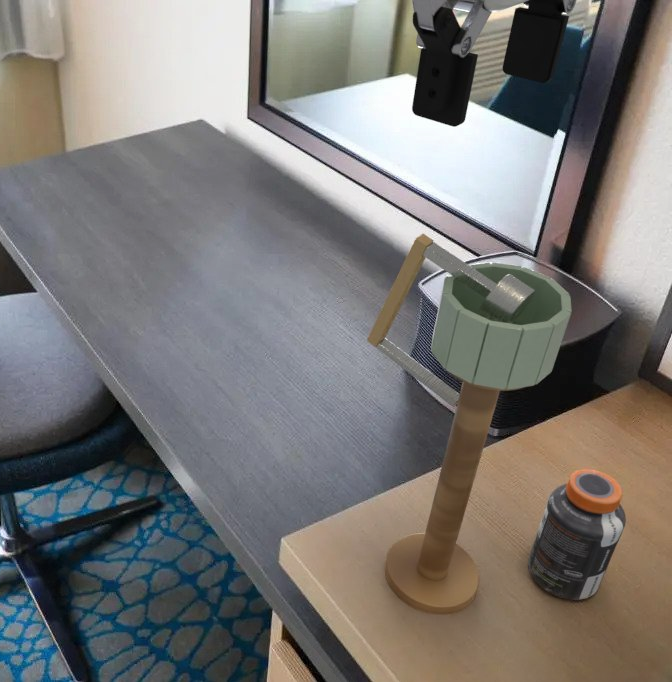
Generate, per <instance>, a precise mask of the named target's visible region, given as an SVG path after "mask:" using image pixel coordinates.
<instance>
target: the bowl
mask: <svg viewBox="0 0 672 682" xmlns="http://www.w3.org/2000/svg"><path fill="white" fill-rule="evenodd" d="M468 265H469V266H471V267H472V268H474V269H475V270H477V271H478V272H480V273H481V274H483V275H484V276H486V277H487V278H489V279H490V280H492V281H493V282H495V283H496V284H498V283H499V282H500V281H501V280H502V279H503V278H504V277H505V276H507V275H508V274H511V275H512V276H514V277H515V278H517V279H518V280H520V281H522V282H523V283H525V284H526V285H528V286H529V287H531V288H532V289H534V290H535V291H536V293H535V295H534V297H533V299H532V300H531V302H530V303H529V304H528V306H527V307H526V308H525V310H524V311H523V312H522V313H521V314H520V316H519V317H518V318H517V319H516V320H515V321H514V322H513V323H512V324H510V323H504V322H497V321H491V320H490V319H488V318H487V317H485V316H484V315H482V314H481V313H480V312H479V310H480V307H481V305H482V303H483V302H484V300H485V299H486V298H485V297H483V296H482V295H480V294H479V293H477V292H476V291H474V290H473V289H471V288H470V287H468V286H467V285H466V284H464V283H463V282H461V281H460V280H458V279H457V278H455V277H454V276H452V275H451V274H449V273H448V274H447V275H446V276H445V277H444V279H443V283H442V289H441V295H440V299H439V303H438V308H437V313H436V319H435V322H434V327H433V332H432V339H431V346H430V351H431V353H432V355H433V356H434V358H435V359H436V360H437V361H438V362H439V364H440V365H441V367H443V369H444V370H445V371H447V372H448V373H449V372H450V373H452V374H454V375H456V376H458V377H460V378H461V379H463V380H465V381H467V382H469V383H474V384H475V385H480V386H486V387H491V388H497V389H503V390H505V389H507V390H509V389H516V388H521V389H523V388H522V387H524V388H527V387H533V386H535V385H538V384H539V383H540V382H541V381H542V380H544V379H545V378H546V377H547V376H548V375H550V374H551V373H552V371H553V369H554V366H555V363H556V361H557V357H558V354H559V351H560V348H561V345H562V342H563V339H564V336H565V333H566V331H567V327H568V324H569V322H570V318H571V315H572V312H573V311H572V310H573V309H572V301H571V295H570V293H569V292H568V291H567V290H566V289H565V288H563V287H562V286H561V285H560V284H559V283H558V282H557V281H556V280H555V279H554V278H551V277H550V276H548V275H546V274H543V273H540V272H538V271H536V270H533V269H531V268H528V267H526V266H523V267H522V265H518V264H509V263H502V262H493V261H491V262H490V261H487V262H481V263H474V264H473V263H472V264H468ZM450 373H449V374H450ZM452 374H451V375H452ZM516 390H517V389H516ZM509 391H510V390H509Z"/></svg>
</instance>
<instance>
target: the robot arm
mask: <svg viewBox="0 0 672 682" xmlns="http://www.w3.org/2000/svg"><path fill="white" fill-rule="evenodd" d="M577 1H578V0H411V2H412V8H413V14H412V24H413V27H414V29H415V31H416V32H417V36H416V46H417V47H418V48H420V52H419V53H420V55H419V60H418V68H417V73H416V79H415V85H414V92H413V98H412V105H411V111H412V113H413V114H414V115H415V116H417V117H420V118H423V119H426V120H430V121H432V122H433V121H434V122H437V123H440V124H443V125H447V126H450V127H458V126H460V125H462V124H463V123H465V121H466V119H467V118H466V117H467V113H468V107H469V102H470V97H471V92H472V86H473V82H474V77H475V72H476V67H477V62H478V57H479V54H477V53H474V52H471V51H472V49H473V47H474V46H475V43H476V42H477V40H478V38H479V36H480V35H481V33H482V31H483V29H484V28H485V25H486V23H487V22H488V20H489V18H490V17H491V15H492V13H493V12H494V13H496V12H500V11H503V10H507V9H510V8H512V7H515V6H517V5H521V4H523V6H524V7H522V6H519V7H515V8H514V13H513V17H512V22H511V26H510V32H509V36H508V40H507V43H506V44H507V46H506V50H505V53H504V58H503V63H502V67H501V68H502V72H503V73H504V74H505V75H508V76H513V77H516V78H520V79H524V80H529V81H533V82H537V83H541V84H545V83H548V82H549V81H552V80H553V79H554V77H555V73H556V68H557V65H558V62H559V57H560V55H561V54H560V53H561V49H562V47H563V42H564V38H565V34H566V31H567V27H568V23H569V19H570V14H571V13H572V11H573V10H574V8H575V7H576V5H577ZM453 10H458V11H462V12H468V14H467V16H466V17H465V19H464V21H463V23H462V25H461V26H460V24H459V20H458V19H457V17H456V15H455V12H454V11H453Z"/></svg>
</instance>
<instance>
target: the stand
mask: <svg viewBox="0 0 672 682" xmlns="http://www.w3.org/2000/svg"><path fill="white" fill-rule="evenodd" d="M448 373H449V375H452V376H453V377H454V378H456V379H458V380H459V381H461V382H462V384H461V387H460V392H459V394H460V395H459V399H458V403H457V404H456V407H455V411H454V415H453V419H452V424H451V427H450V430H449V431H450V432H449V436H448V439H447V444H446V448H445V450H444V451H445V452H444V456H443V460H442V463H441V467H440V471H439V475H438V476H439V477H438V480H437V484H436V488H435V491H434V496H433V500H432V505H431V509H430V512H429V516H428V520H427V524H426V528H425V532H424V533H423V532H421V533H420V532H419V533H412V534H408V535H405V536H403V537H401V538H399V539H398V540H396V541H395V542H394V543H393V544H392V545H391V547H390V548H389V549H388V552H387V555H386V560H385V564H384V573H385V578H386V581H387V583H388V585H389V587H390V589H391V591H392V592H393V593H394V594H395V595H396V596H397V598H399V599H400V600H401V601H402V602H403V603H405V604H407V605H408V606H410V607H411V608H413V609H415V610H418V611H420V612H423V613H425V614H431V615H451V614H456V613H458V612H460V611H461V612H462V611H463V610H464V609H466V608H468V606H470V605H471V603H472V602H473V600H474V599H475V597H476V594H477V591H478V588H479V584H480V575H479V570H478V567H477V565H476V563H475V561H474V559H473V558H472V556H471V555H470V554H469V553H468V551H466V550H465V549H464V548H463V547H462V546H460V545H459V544H457V542H458V541H457V540H458V538H459V534H460V531H461V527H462V523H463V520H464V517H465V514H466V509H467V507H468V503H469V499H470V496H471V492H472V489H473V486H474V482H475V479H476V477H477V472H478V468H479V464H480V461H481V458H482V455H483V452H484V448H485V444H486V441H487V437H488V433H489V430H490V426H491V423H492V421H493V417H494V413H495V410H496V406H497V403H498V400H499V396H500V392H505V391H506V392H507V391H508V392H509V391H516V390H521V389H524V388H525V387H522V388H516V389H509V390H507V389H505V390H503V389H497V388H491V387H486V386H480V385H475V384H474V383H469V382H467V381H465V380H463V379H461V378H460V377H458V376H456V375H454V374H452V373H450V372H448Z"/></svg>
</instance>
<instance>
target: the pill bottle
mask: <svg viewBox="0 0 672 682" xmlns="http://www.w3.org/2000/svg"><path fill="white" fill-rule="evenodd" d="M623 493H624V492H623V489H622V486H621V485H620V484H619V482H618V481H617V480H616V479H614V478H613V477H612V476H610V475H609V474H606V473H604V472H602V471H599V470H596V469H588V468H587V469H584V468H583V469H578V470H575V471H574V472H573V473H572V474H571V475H570V476H569V479H568V482H567V483H564V484H561V485H559V486H557V487H556V488H555V489H554V490H553V491H551V493H550V495H549V497H548V500H547V503H546V506H545V509H544V512H543V515H542V516H541V519H540V523H539V526H538V530H537V532H536V536H535V539H534V542H533V544H532V546H531V547H532V548H531V550H530V553H529V556H528V559H527V568H528V571H529V574H530V576H531V577H532V579H533V580H534V581H535V583H537V585H539V586H540V587H541V588H542V589H544V590H545V591H546V592H547V593H549V594H552V595H554V596H557V597H559V598H562V599H566V600H574V601H579V600H584V599H588V598H590V597H592V596H593V595H595V594H596V593H597V591H599V588H600V586H601V583H602V581H603V578H604V576H605V574H606V572H607V569H608V566H609V564H610V561H612V560H611V559H612V557H613V556H614V552H615V550H616V547H617V545H618V543H619V541H620V538H621V536H622V534H623V531H624V529H625V528H626V527H625V526H626V522H627V518H626V513H625V510H624V508H623V506H622V505H621V500H622V498H623Z"/></svg>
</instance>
